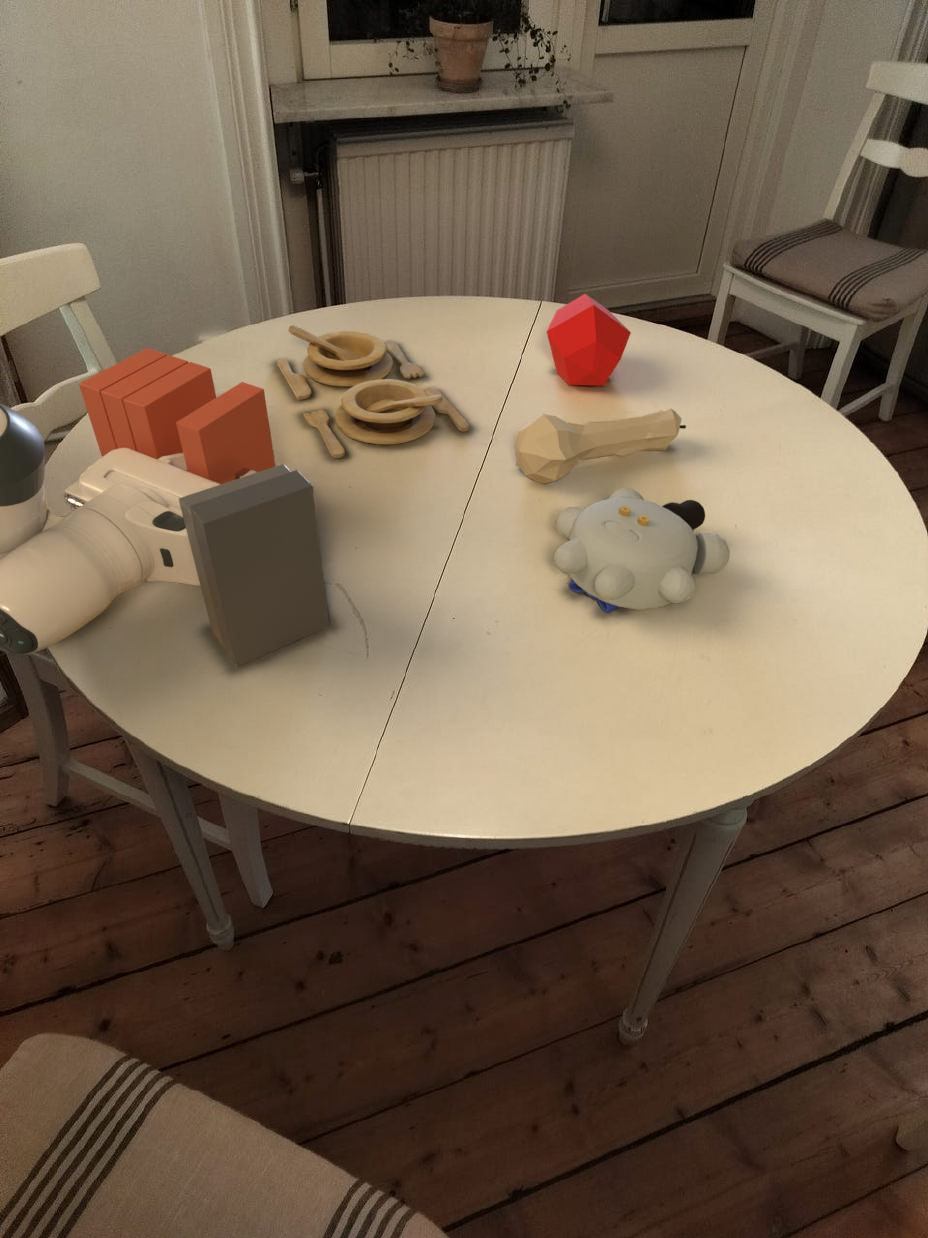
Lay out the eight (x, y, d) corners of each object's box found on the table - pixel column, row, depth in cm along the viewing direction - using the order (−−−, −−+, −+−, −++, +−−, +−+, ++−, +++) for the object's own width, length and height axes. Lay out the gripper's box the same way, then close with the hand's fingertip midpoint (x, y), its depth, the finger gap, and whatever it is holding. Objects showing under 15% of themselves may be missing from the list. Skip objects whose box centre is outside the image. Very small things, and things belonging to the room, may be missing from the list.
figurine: (639, 655, 81) (746, 583, 93) (661, 585, 76) (771, 518, 87) (512, 570, 90) (624, 514, 102) (523, 502, 85) (640, 451, 96)
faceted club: (495, 456, 106) (657, 425, 114) (524, 506, 102) (688, 470, 111) (511, 403, 98) (682, 375, 107) (542, 455, 94) (717, 422, 103)
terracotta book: (224, 549, 92) (198, 430, 82) (204, 541, 93) (175, 422, 83) (281, 504, 98) (264, 388, 88) (261, 496, 99) (242, 381, 89)
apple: (541, 400, 121) (533, 335, 129) (623, 405, 122) (610, 340, 130) (557, 331, 111) (547, 265, 119) (645, 337, 112) (630, 271, 121)
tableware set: (472, 432, 111) (473, 391, 107) (331, 462, 105) (327, 421, 101) (393, 340, 131) (391, 303, 127) (270, 361, 125) (265, 323, 121)
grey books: (236, 667, 79) (203, 523, 68) (211, 630, 83) (175, 488, 71) (329, 626, 84) (313, 485, 72) (302, 593, 87) (281, 453, 75)
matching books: (175, 524, 95) (144, 406, 85) (115, 500, 98) (78, 383, 88) (233, 482, 101) (210, 367, 91) (175, 460, 105) (147, 347, 94)
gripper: (63, 523, 86) (159, 461, 95) (215, 592, 79) (304, 517, 88) (44, 472, 82) (146, 411, 91) (203, 539, 75) (297, 467, 84)
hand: (225, 464), depth 89 cm, fingers open, 6 cm apart
